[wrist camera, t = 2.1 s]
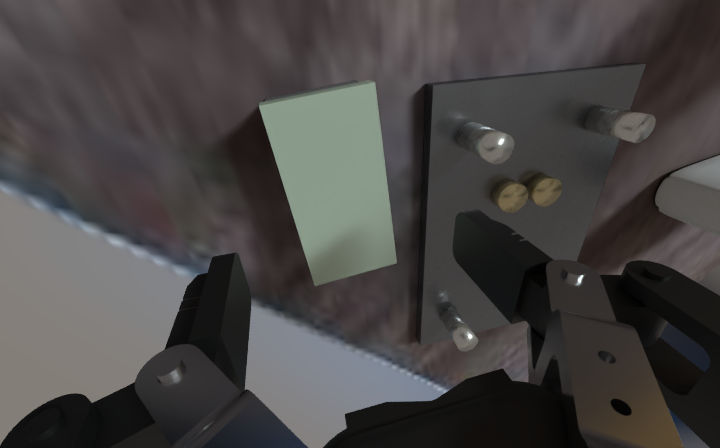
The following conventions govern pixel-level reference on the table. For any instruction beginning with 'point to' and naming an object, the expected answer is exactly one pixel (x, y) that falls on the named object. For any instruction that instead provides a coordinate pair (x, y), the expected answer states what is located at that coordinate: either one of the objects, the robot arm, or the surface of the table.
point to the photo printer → (693, 195)
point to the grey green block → (334, 176)
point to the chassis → (514, 175)
